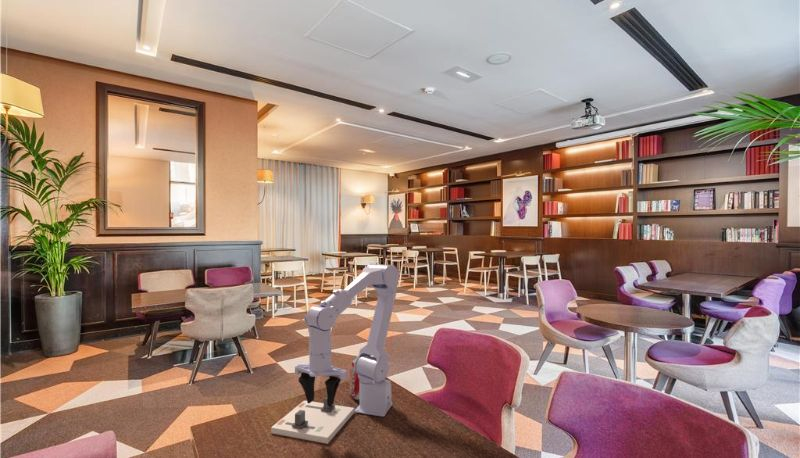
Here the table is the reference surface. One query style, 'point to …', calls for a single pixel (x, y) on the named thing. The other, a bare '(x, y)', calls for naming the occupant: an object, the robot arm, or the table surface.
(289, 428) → the breaker panel
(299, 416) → the breaker
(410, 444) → the table surface
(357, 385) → the soda can
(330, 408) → the block
